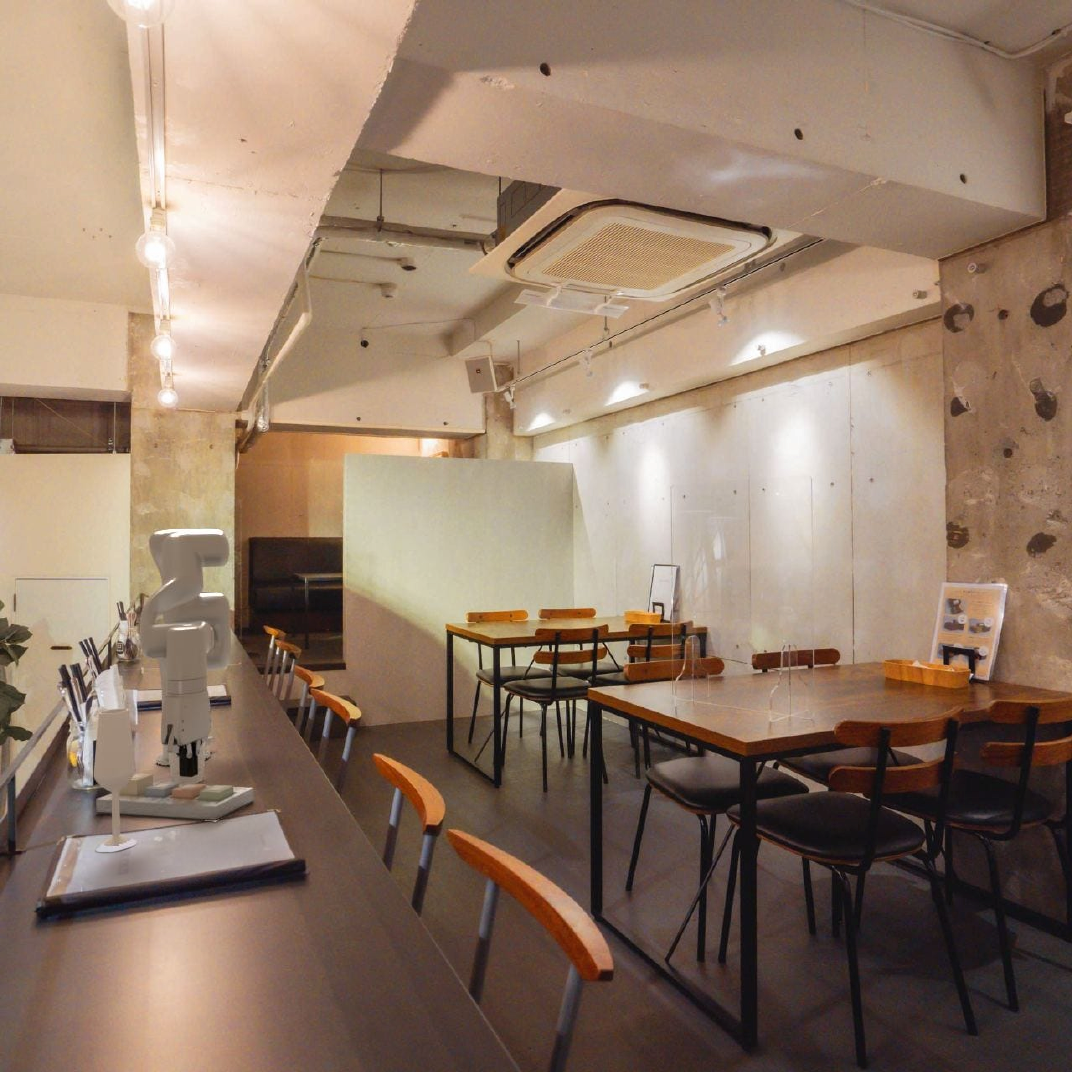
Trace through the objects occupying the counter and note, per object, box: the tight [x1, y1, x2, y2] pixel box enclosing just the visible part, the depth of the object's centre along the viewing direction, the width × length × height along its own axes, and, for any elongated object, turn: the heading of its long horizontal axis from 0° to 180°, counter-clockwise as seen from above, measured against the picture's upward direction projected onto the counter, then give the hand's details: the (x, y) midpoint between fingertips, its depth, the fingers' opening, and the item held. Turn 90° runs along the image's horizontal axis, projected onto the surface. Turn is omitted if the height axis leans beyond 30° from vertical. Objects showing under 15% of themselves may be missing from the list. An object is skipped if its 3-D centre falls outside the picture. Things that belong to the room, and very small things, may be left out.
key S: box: [119, 772, 154, 796], centre depth 161 cm, size 4×4×4 cm
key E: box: [200, 784, 234, 801], centre depth 156 cm, size 4×4×4 cm
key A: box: [172, 783, 207, 799], centre depth 158 cm, size 4×4×4 cm
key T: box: [145, 781, 179, 798], centre depth 160 cm, size 4×4×4 cm
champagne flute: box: [93, 708, 137, 846], centre depth 139 cm, size 7×7×24 cm
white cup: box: [169, 742, 206, 784], centre depth 178 cm, size 8×8×10 cm
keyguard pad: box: [95, 782, 254, 822], centre depth 159 cm, size 12×28×3 cm, turn 75°
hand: (188, 775), depth 159 cm, fingers closed
